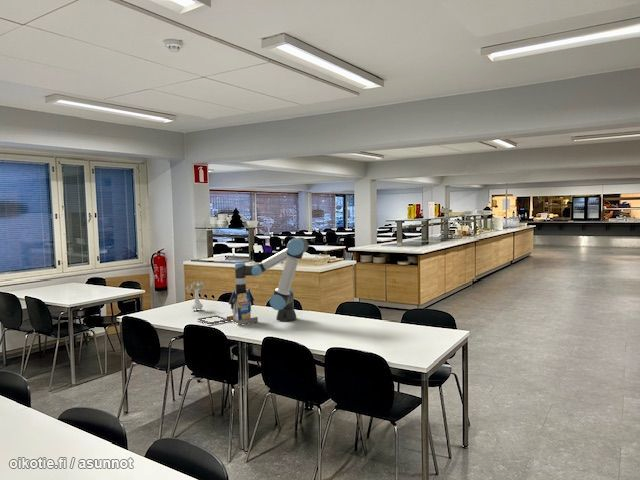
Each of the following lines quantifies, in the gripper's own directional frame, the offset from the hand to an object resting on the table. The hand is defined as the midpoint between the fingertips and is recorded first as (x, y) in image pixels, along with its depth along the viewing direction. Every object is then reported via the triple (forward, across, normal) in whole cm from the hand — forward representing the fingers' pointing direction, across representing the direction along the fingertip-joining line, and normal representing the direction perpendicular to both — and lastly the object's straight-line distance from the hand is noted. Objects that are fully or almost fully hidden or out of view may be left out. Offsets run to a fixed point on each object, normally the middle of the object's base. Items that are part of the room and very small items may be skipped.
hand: (241, 311), depth 346 cm
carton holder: (+8, 0, 0) cm, 8 cm away
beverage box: (+8, 0, 0) cm, 8 cm away
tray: (+8, +15, -18) cm, 25 cm away
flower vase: (+8, +7, -67) cm, 68 cm away
